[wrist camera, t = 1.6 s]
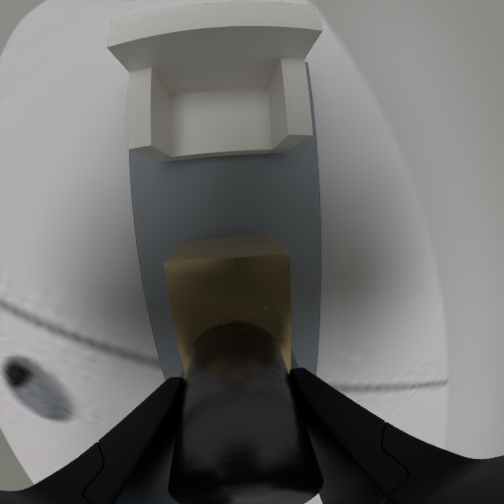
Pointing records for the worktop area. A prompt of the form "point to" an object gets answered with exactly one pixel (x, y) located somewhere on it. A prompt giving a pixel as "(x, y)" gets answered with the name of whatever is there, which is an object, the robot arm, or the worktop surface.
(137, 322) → the worktop surface
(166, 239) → the board
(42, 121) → the worktop surface
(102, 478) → the robot arm
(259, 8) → the socket
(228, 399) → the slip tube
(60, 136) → the worktop surface
